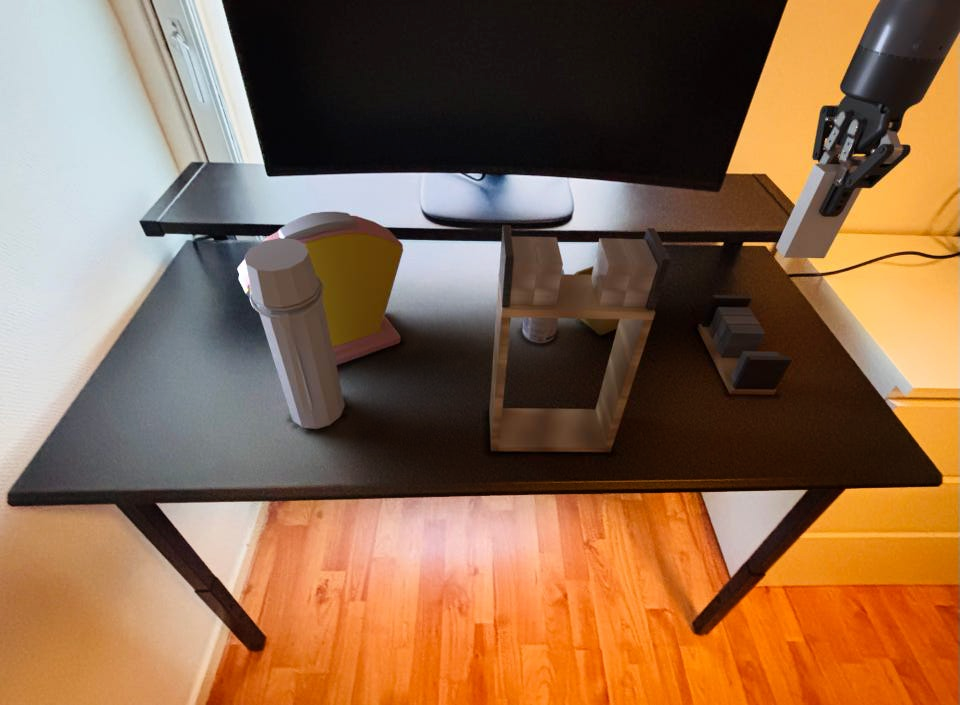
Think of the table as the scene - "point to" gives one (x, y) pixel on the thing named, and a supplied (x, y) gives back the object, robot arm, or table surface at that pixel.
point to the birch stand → (566, 425)
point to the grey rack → (740, 347)
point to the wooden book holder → (581, 279)
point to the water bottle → (296, 329)
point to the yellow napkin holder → (348, 277)
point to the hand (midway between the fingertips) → (821, 208)
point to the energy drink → (540, 328)
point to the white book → (814, 217)
